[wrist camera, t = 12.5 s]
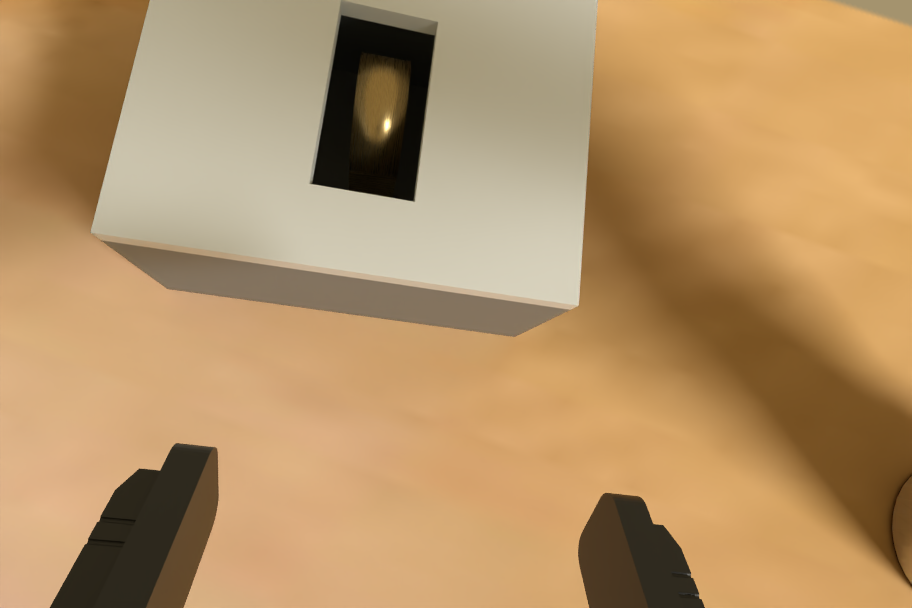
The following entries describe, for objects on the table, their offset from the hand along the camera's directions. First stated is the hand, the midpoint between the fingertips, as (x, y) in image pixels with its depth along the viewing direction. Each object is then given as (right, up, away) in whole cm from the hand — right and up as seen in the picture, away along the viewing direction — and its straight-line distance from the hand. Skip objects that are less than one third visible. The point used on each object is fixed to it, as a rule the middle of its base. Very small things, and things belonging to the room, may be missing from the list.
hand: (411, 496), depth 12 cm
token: (-4, +12, +23) cm, 26 cm away
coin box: (-4, +11, +23) cm, 26 cm away
